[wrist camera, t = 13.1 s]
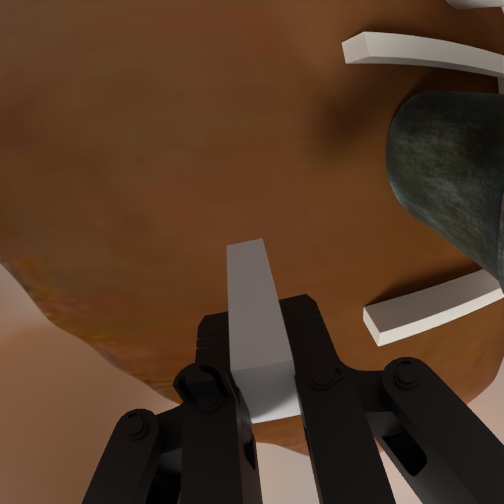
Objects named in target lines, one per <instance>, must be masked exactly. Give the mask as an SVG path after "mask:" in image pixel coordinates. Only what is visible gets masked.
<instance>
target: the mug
mask: <svg viewBox="0 0 504 504" xmlns="http://www.w3.org/2000/svg"><path fill="white" fill-rule="evenodd" d="M386 166H387V173H388V177H389V181H390V184H391V187H392V189H393V192H394V194H395V196H396V197H397V199H398V201H399V202H400V204H401V205H402V206H403V207H404V209H405V210H407V211H408V212H409V213H410V214H411V215H412V216H414V217H415V218H417V219H418V220H420V221H421V222H423V223H424V224H426V225H427V226H428V227H430V228H431V229H433V230H434V231H435V232H437V233H438V234H439V235H441V236H442V237H444V238H445V239H446V240H448V241H449V242H450V243H452V244H453V245H454V246H456V247H457V248H458V249H460V250H461V251H462V252H463V253H465V254H466V255H467V256H468V257H470V258H471V259H472V260H473V261H475V262H476V263H477V264H478V265H480V266H481V267H482V268H483V269H485V270H486V271H487V272H488V273H489V274H490V275H492V276H493V277H494V278H495V279H496V280H497V281H499V284H500V287H501V289H502V292H503V294H504V94H495V93H484V92H470V91H445V90H428V91H423V92H420V93H418V94H416V95H414V96H412V97H411V98H409V99H408V100H407V101H406V102H405V103H404V104H403V105H402V106H401V107H400V108H399V110H398V112H397V113H396V115H395V117H394V119H393V121H392V124H391V126H390V129H389V133H388V137H387V144H386Z"/></svg>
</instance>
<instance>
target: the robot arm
mask: <svg viewBox="0 0 504 504" xmlns="http://www.w3.org/2000/svg"><path fill="white" fill-rule="evenodd" d="M227 278H228V312H222V313H217V314H212V315H206V316H204V318H203V319H202V321H201V323H200V324H199V326H198V334H197V346H196V348H197V350H196V359H195V363H193V364H190V365H188V366H187V367H185V368H184V369H182V370H181V371H180V372H179V373H178V375H177V376H176V377H175V380H174V383H173V386H174V388H175V390H176V391H177V393H178V394H179V396H180V397H181V399H182V400H183V403H182V404H181V405H179V406H178V407H175V408H173V409H171V410H168V411H165V412H163V413H160V414H157V415H154V413H153V412H151V411H149V410H146V409H135V410H132V411H129V412H127V413H126V414H125V415H123V416H122V417H121V418H120V420H119V421H118V422H117V424H116V426H115V428H114V430H113V433H112V435H111V437H110V439H109V441H108V444H107V446H106V448H105V451H104V453H103V455H102V457H101V459H100V462H99V464H98V466H97V469H96V471H95V473H94V476H93V478H92V480H91V483H90V485H89V487H88V490H87V492H86V495H85V497H84V499H83V502H82V504H263V502H262V494H261V485H260V477H259V468H258V460H257V451H256V442H255V438H254V435H253V432H252V429H251V420H252V423H257V422H263V421H269V420H275V419H280V418H285V417H290V416H295V415H299V414H301V417H302V421H303V427H304V433H305V440H306V442H307V446H308V451H309V456H310V460H311V465H312V470H313V474H314V479H315V484H316V488H317V493H318V498H319V502H320V504H396V502H395V499H394V496H393V493H392V490H391V486H390V483H389V480H388V477H387V474H386V472H385V469H384V466H383V463H382V460H381V457H380V454H379V451H378V448H377V445H376V443H375V440H374V437H375V439H376V440H377V441H378V443H379V444H380V446H381V447H382V448H383V450H384V451H385V453H386V454H387V455H388V457H389V458H390V459H391V461H392V462H393V463H394V465H395V466H396V468H397V469H398V470H399V472H400V473H401V475H402V476H403V477H404V479H405V480H406V481H407V483H408V484H409V486H410V487H411V488H412V490H413V491H414V492H415V494H416V495H417V496H418V498H419V499H420V501H421V502H422V503H423V504H504V445H503V444H502V443H501V442H500V441H499V440H498V439H497V437H496V436H495V435H494V434H493V433H492V432H491V431H490V430H489V429H488V428H487V426H485V424H484V423H483V422H482V421H481V420H480V419H479V418H478V417H477V416H476V415H475V414H474V413H473V412H472V410H471V409H470V408H469V407H468V406H467V405H466V404H465V403H464V402H463V401H462V400H461V399H460V398H459V397H458V396H457V395H456V394H455V393H454V392H453V391H452V390H451V389H450V388H449V387H448V386H447V385H446V384H445V382H444V381H443V380H442V379H441V378H440V377H439V376H438V375H437V374H436V373H435V372H434V371H433V370H432V369H431V368H430V367H429V366H428V365H427V364H425V363H424V362H422V361H421V360H419V359H416V358H412V357H400V358H398V359H395V360H393V361H391V362H390V363H389V364H388V365H387V366H386V367H385V369H384V370H382V371H360V370H355V369H352V368H350V367H348V366H346V365H345V364H344V363H343V362H341V361H340V359H339V357H338V356H337V353H336V351H335V348H334V346H333V343H332V341H331V338H330V336H329V333H328V331H327V328H326V326H325V323H324V321H323V318H322V316H321V314H320V311H319V308H318V306H317V303H316V301H314V300H313V299H312V298H311V297H309V296H308V295H307V294H303V295H299V296H295V297H290V298H286V299H281V300H278V297H277V293H276V289H275V285H274V281H273V277H272V274H271V270H270V266H269V262H268V258H267V254H266V250H265V246H264V243H263V239H262V238H261V239H256V240H252V241H247V242H242V243H238V244H233V245H228V246H227Z"/></svg>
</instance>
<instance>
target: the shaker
mask: <svg viewBox="0 0 504 504" xmlns="http://www.w3.org/2000/svg"><path fill="white" fill-rule="evenodd" d="M445 1H446V2H447V3H448V4H449V5H450V6H452V7H453V8H455V9H458V10H464V9H473V8H485V7H503V6H504V0H445Z"/></svg>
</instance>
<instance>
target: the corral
mask: <svg viewBox="0 0 504 504" xmlns="http://www.w3.org/2000/svg"><path fill="white" fill-rule="evenodd" d="M342 47H343V52H344V57H345V62H346V64H358V63H375V64H404V65H419V66H430V67H439V68H447V69H455V70H461V71H468V72H474V73H479V74H484V75H489V76H494V77H497V80H498V88H499V94H504V56H503V55H500V54H497V53H493V52H490V51H486V50H483V49H479V48H475V47H471V46H467V45H463V44H458V43H453V42H448V41H443V40H437V39H432V38H425V37H418V36H411V35H402V34H392V33H379V32H362V33H360V34H358V35H356V36H354V37H352V38H350V39H348V40H346V41H344V42H342ZM503 297H504V294H503V292H502V289H501V287H500V284H499V281H497V280H496V279H495V278H494V277H493V276H492V275H490V274H489V273H488V272H487V271H486V270H485V269H482V270H479V271H476V272H474V273H471V274H468V275H465V276H462V277H460V278H457V279H454V280H451V281H448V282H445V283H442V284H439V285H436V286H433V287H430V288H427V289H424V290H420V291H417V292H414V293H411V294H407V295H404V296H401V297H397V298H394V299H390V300H387V301H384V302H380V303H376V304H373V305H369V306H365V307H364V316H363V320H364V322H365V324H366V326H367V327H368V329H369V331H370V333H371V334H372V336H373V338H374V340H375V342H376V343H377V345H378V346H381V345H384V344H388V343H391V342H394V341H397V340H400V339H403V338H406V337H408V336H411V335H414V334H417V333H420V332H423V331H425V330H428V329H431V328H433V327H436V326H438V325H441V324H444V323H446V322H449V321H451V320H454V319H456V318H458V317H461V316H463V315H466V314H468V313H470V312H473V311H475V310H477V309H479V308H482V307H484V306H486V305H488V304H490V303H492V302H494V301H497V300H499V299H501V298H503Z"/></svg>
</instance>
